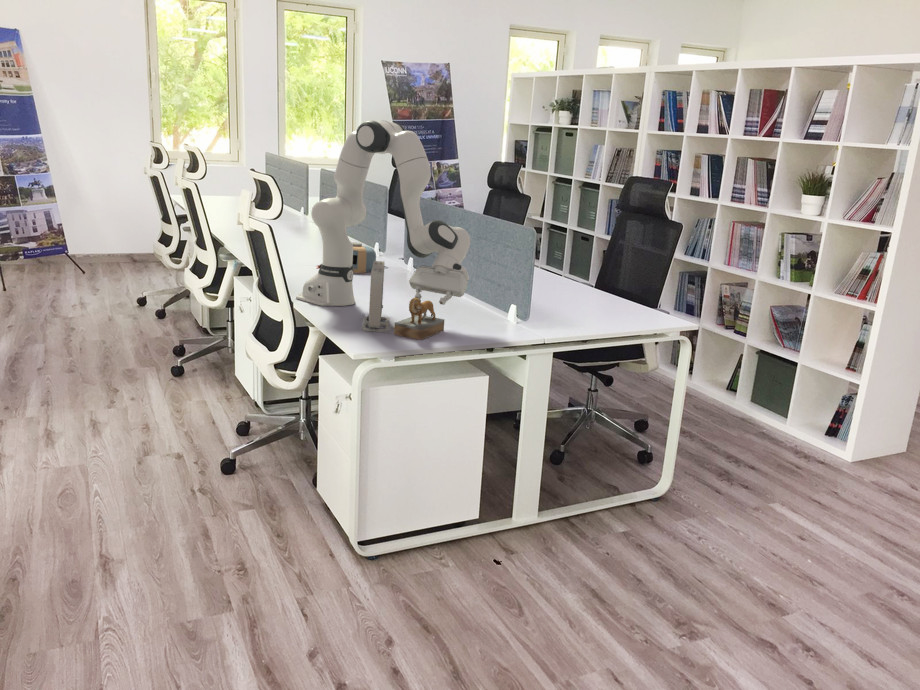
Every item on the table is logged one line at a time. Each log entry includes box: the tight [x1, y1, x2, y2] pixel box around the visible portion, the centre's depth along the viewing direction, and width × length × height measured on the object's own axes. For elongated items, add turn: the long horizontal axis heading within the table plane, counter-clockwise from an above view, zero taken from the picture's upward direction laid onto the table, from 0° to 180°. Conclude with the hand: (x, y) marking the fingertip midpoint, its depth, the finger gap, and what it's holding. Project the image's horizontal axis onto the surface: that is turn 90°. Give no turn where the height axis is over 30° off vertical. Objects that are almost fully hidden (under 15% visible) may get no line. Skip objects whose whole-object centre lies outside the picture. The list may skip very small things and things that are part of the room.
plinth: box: [393, 314, 446, 341], centre depth 265 cm, size 10×16×4 cm, turn 153°
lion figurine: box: [408, 297, 436, 324], centre depth 263 cm, size 15×5×9 cm, turn 155°
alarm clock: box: [351, 241, 377, 274], centre depth 369 cm, size 19×20×12 cm
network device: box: [361, 260, 390, 333], centre depth 269 cm, size 26×9×20 cm, turn 4°
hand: (429, 301), depth 268 cm, fingers open, 8 cm apart
